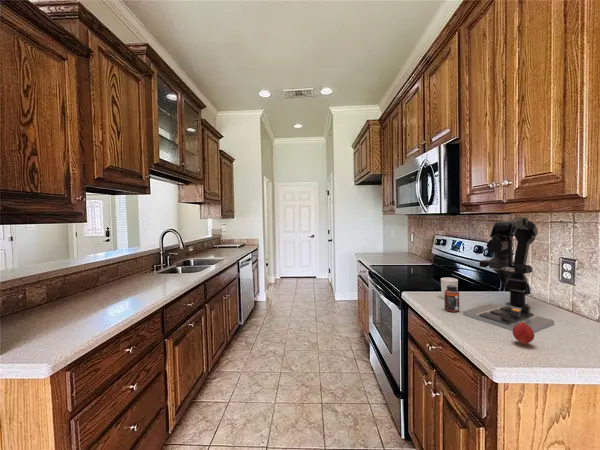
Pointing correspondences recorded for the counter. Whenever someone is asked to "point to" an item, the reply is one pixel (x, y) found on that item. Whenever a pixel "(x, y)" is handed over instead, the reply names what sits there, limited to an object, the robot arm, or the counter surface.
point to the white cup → (447, 282)
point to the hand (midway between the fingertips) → (504, 285)
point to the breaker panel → (530, 323)
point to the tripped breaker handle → (515, 312)
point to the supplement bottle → (452, 298)
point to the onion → (523, 333)
